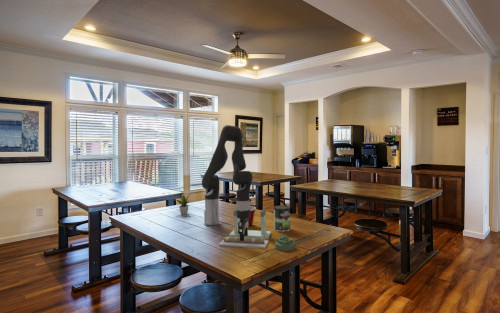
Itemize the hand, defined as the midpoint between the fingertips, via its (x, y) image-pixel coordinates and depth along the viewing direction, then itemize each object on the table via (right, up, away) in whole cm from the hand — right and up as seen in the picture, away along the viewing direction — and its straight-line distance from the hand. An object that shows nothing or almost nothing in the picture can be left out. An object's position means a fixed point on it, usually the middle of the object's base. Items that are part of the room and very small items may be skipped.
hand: (243, 238), depth 160 cm
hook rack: (+3, -2, +15) cm, 15 cm away
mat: (0, -3, 0) cm, 3 cm away
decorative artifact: (+21, -3, -6) cm, 22 cm away
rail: (0, -1, 0) cm, 1 cm away
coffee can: (+23, -2, +26) cm, 35 cm away
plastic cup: (+2, -2, +37) cm, 37 cm away
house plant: (-48, -1, +74) cm, 88 cm away
